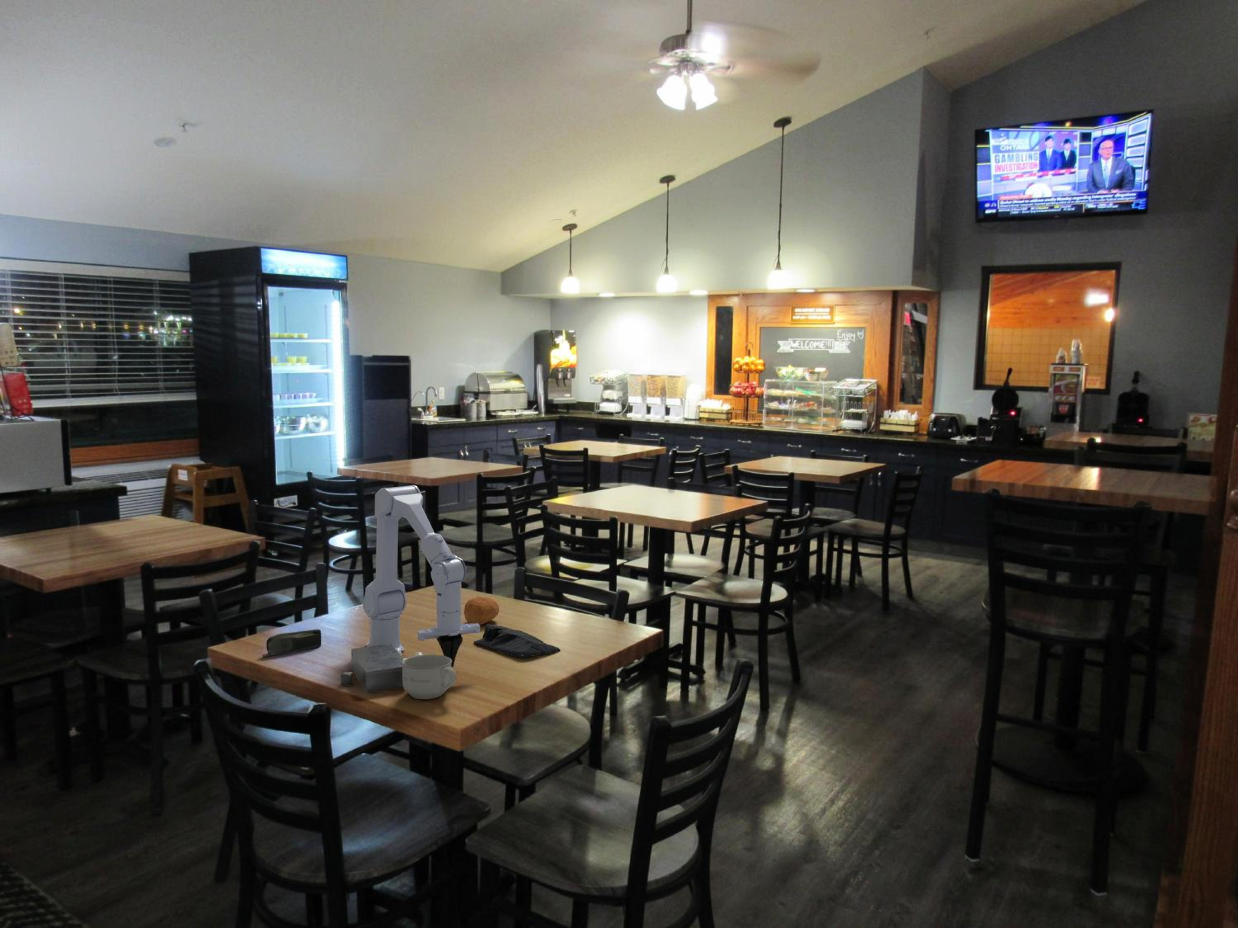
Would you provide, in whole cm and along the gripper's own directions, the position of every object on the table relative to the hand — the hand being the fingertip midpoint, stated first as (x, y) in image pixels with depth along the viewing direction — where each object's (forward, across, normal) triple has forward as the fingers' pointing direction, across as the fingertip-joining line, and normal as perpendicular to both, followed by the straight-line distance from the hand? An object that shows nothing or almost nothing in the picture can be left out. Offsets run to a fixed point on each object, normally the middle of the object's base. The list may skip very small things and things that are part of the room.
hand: (449, 665), depth 201 cm
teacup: (+2, -8, -12) cm, 14 cm away
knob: (+2, -13, +11) cm, 17 cm away
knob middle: (+2, -9, +6) cm, 11 cm away
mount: (+2, -15, +6) cm, 16 cm away
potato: (+2, +20, +38) cm, 44 cm away
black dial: (+2, -23, +5) cm, 23 cm away
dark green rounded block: (+2, -31, +34) cm, 47 cm away
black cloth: (+3, +22, +13) cm, 26 cm away
